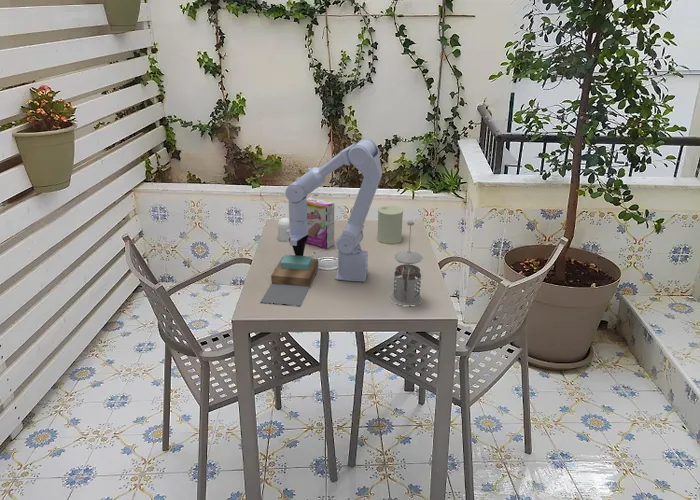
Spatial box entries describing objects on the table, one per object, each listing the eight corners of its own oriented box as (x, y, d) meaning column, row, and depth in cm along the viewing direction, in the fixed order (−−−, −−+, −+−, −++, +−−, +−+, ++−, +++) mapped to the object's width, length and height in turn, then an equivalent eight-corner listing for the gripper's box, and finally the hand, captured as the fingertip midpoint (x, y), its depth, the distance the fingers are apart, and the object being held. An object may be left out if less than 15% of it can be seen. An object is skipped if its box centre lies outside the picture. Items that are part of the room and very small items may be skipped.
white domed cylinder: (295, 236, 212) (294, 216, 209) (288, 242, 207) (287, 221, 204) (282, 234, 214) (281, 214, 210) (275, 239, 209) (274, 219, 206)
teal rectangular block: (312, 262, 185) (312, 256, 184) (308, 270, 180) (308, 264, 179) (285, 260, 186) (285, 254, 186) (280, 268, 181) (280, 262, 180)
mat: (309, 287, 176) (309, 286, 176) (300, 306, 165) (300, 305, 165) (271, 284, 177) (271, 283, 177) (260, 302, 167) (260, 302, 166)
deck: (318, 267, 188) (318, 259, 187) (309, 287, 176) (309, 278, 175) (283, 264, 190) (282, 256, 189) (271, 284, 177) (271, 275, 176)
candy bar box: (301, 242, 207) (300, 200, 200) (309, 238, 211) (308, 196, 204) (327, 249, 201) (326, 206, 195) (335, 245, 205) (334, 202, 199)
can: (385, 232, 217) (386, 202, 212) (406, 238, 212) (408, 207, 207) (372, 240, 210) (372, 209, 205) (393, 246, 205) (394, 214, 200)
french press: (424, 292, 173) (430, 215, 163) (420, 311, 163) (425, 231, 153) (392, 289, 175) (396, 212, 165) (386, 307, 165) (389, 227, 155)
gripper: (291, 209, 188) (292, 247, 193) (279, 225, 175) (281, 265, 180) (312, 211, 187) (313, 248, 192) (302, 227, 174) (303, 267, 179)
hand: (299, 257), depth 186 cm, fingers closed
